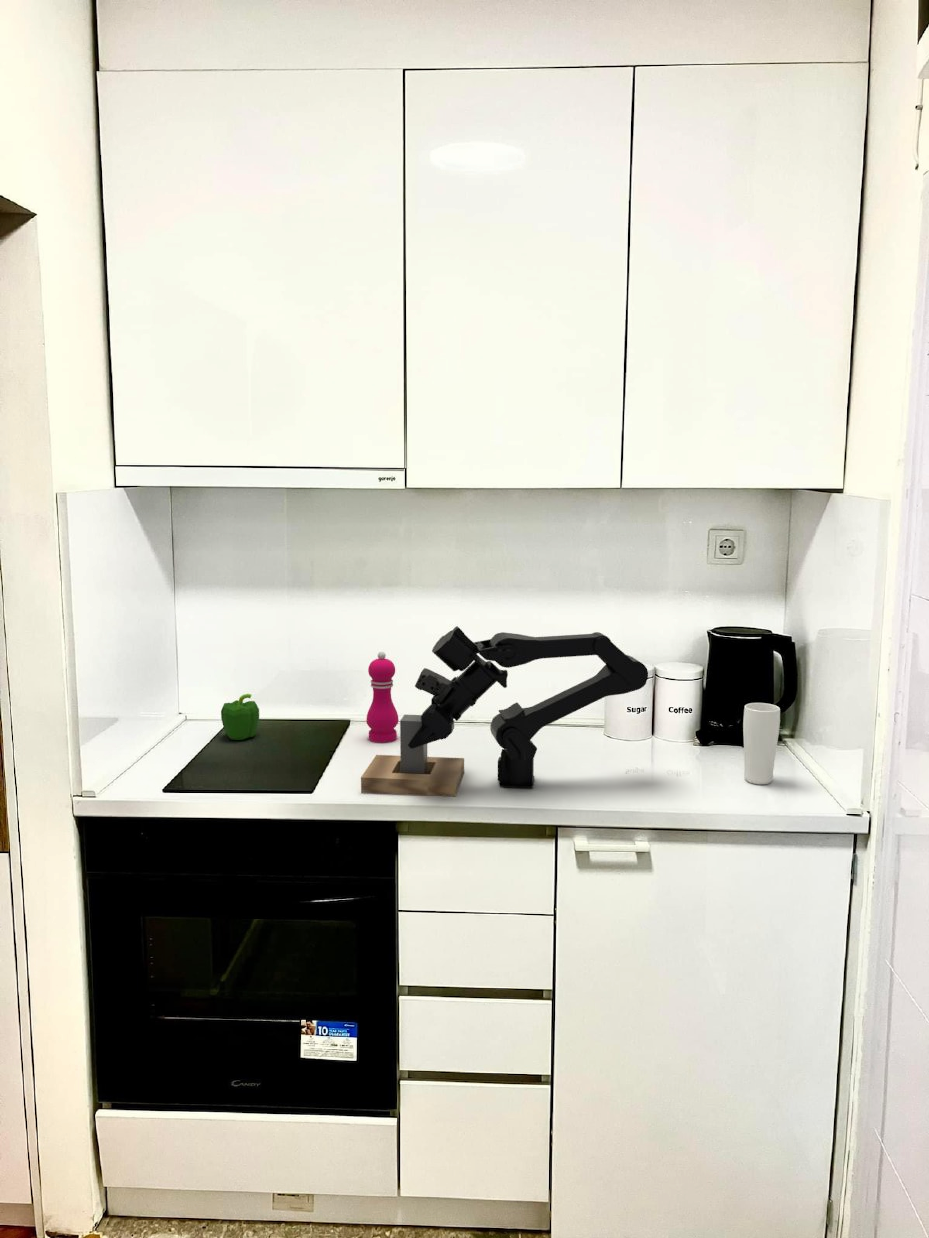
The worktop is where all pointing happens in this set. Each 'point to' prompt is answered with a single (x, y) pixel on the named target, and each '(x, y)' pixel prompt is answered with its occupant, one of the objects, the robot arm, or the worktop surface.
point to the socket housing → (413, 777)
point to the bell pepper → (240, 718)
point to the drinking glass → (760, 741)
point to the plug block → (416, 757)
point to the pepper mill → (382, 701)
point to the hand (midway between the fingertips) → (413, 739)
